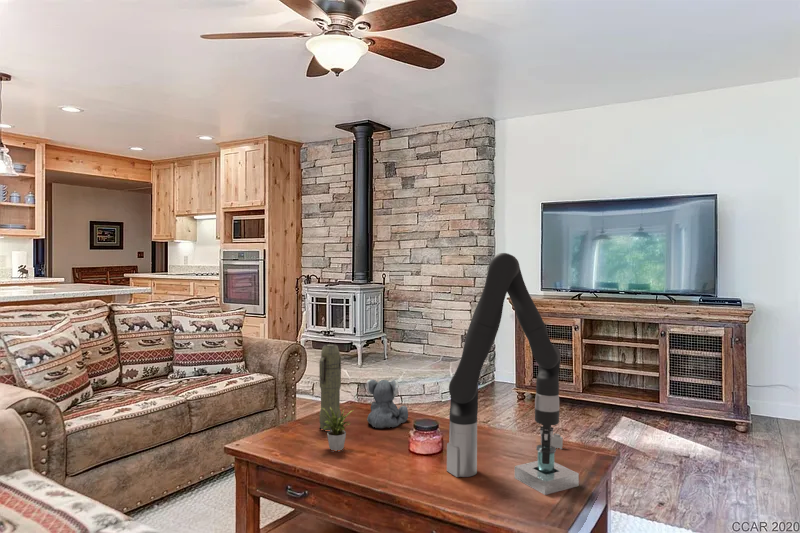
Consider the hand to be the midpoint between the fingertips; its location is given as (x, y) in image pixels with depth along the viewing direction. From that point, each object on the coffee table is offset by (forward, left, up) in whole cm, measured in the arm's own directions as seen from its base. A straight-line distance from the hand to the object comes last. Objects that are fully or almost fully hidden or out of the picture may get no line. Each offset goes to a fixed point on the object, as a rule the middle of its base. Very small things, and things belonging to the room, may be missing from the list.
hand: (546, 459), depth 171 cm
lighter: (+25, +23, -8) cm, 35 cm away
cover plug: (0, 0, -5) cm, 5 cm away
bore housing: (0, 0, -7) cm, 7 cm away
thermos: (-42, +83, -8) cm, 93 cm away
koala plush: (-19, +78, -8) cm, 81 cm away
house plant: (-50, +59, -8) cm, 78 cm away
